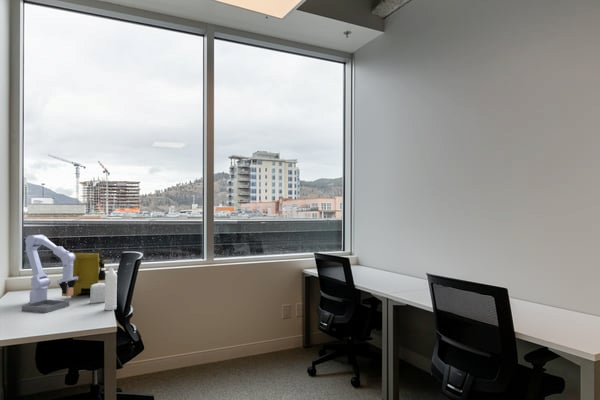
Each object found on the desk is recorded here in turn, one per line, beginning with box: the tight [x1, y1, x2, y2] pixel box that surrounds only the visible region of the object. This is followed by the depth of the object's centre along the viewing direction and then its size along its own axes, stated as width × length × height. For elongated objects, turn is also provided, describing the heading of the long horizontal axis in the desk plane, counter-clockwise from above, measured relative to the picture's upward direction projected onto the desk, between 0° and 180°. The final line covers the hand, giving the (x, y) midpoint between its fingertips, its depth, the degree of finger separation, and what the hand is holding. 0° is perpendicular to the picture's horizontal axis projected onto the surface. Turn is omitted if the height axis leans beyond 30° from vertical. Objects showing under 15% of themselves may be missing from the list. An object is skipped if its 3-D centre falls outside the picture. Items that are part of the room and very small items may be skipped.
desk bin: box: [21, 299, 70, 314], centre depth 227 cm, size 18×16×3 cm
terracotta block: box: [61, 286, 74, 297], centre depth 241 cm, size 5×4×5 cm
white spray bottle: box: [101, 267, 118, 311], centre depth 226 cm, size 9×6×25 cm
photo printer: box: [89, 282, 105, 304], centre depth 243 cm, size 10×4×12 cm, turn 123°
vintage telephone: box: [70, 253, 110, 298], centre depth 265 cm, size 31×14×30 cm, turn 92°
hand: (67, 292), depth 241 cm, fingers closed on terracotta block, 4 cm apart
